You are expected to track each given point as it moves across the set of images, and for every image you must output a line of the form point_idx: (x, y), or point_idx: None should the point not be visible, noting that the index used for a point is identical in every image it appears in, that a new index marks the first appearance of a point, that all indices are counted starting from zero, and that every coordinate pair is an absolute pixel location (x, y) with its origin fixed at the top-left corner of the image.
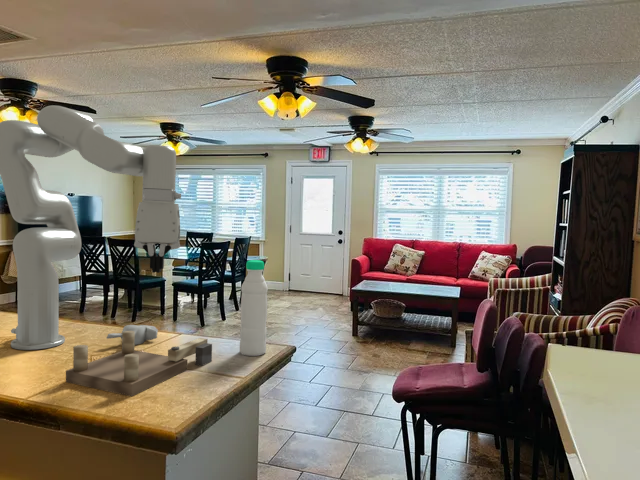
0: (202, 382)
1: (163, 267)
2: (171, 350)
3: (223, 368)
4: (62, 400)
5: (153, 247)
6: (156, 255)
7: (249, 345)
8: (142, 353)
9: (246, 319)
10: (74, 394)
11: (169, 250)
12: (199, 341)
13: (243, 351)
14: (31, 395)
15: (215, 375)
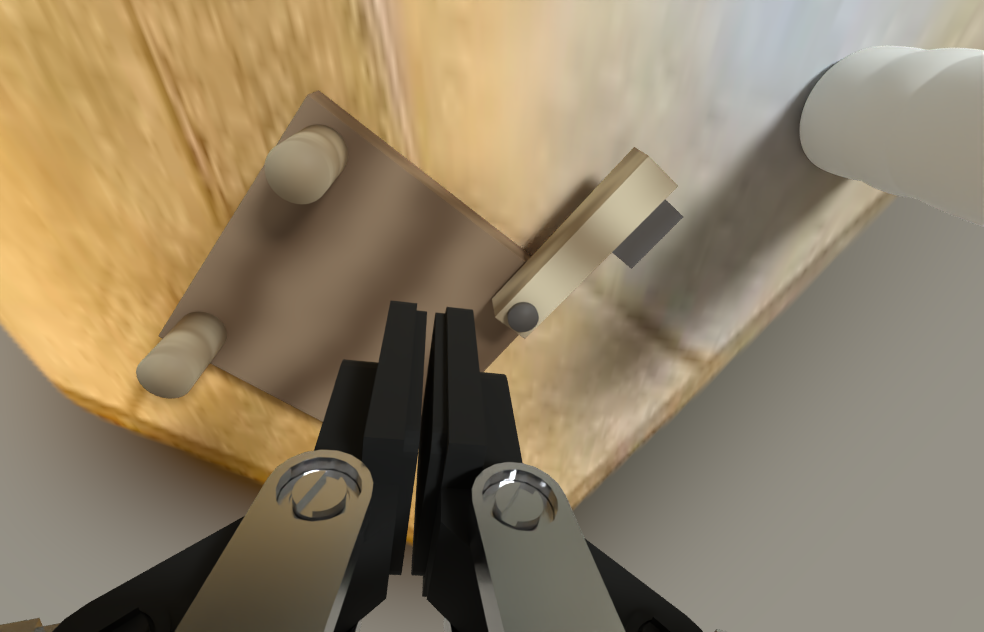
0: (583, 380)
1: (503, 380)
2: (507, 325)
3: (673, 279)
4: (233, 435)
5: (301, 630)
6: (398, 489)
7: (844, 174)
8: (387, 181)
9: (930, 199)
10: (248, 406)
11: (646, 590)
12: (634, 220)
13: (807, 151)
14: (131, 396)
15: (631, 335)
